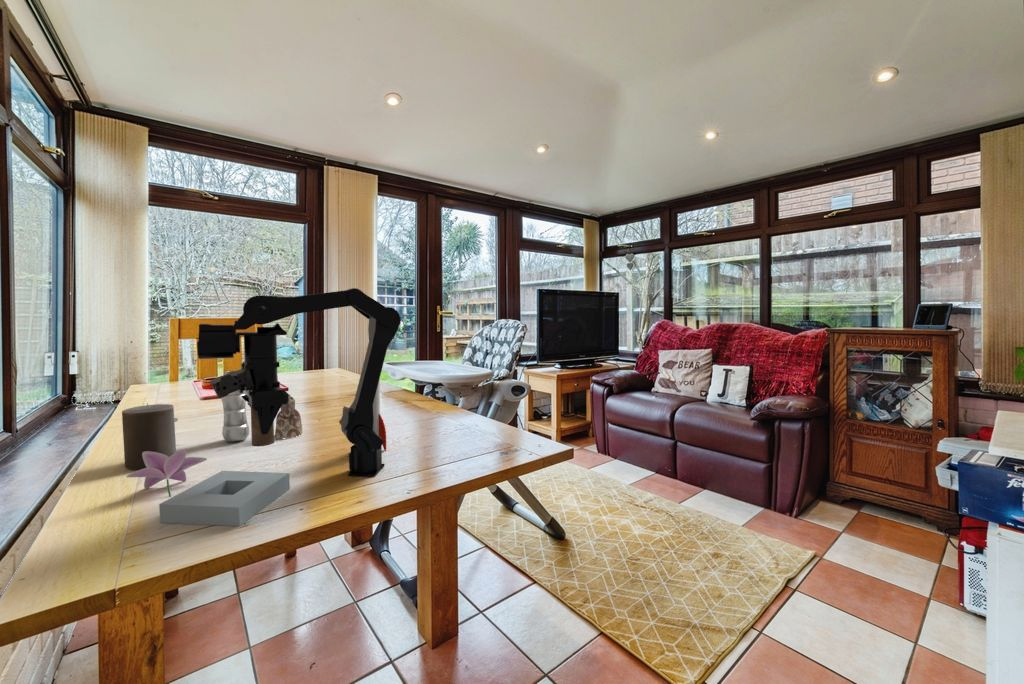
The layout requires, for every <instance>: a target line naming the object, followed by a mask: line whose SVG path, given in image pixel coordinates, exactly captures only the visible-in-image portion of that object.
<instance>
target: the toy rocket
mask: <svg viewBox="0 0 1024 684" xmlns="http://www.w3.org/2000/svg"><path fill="white" fill-rule="evenodd" d="M368 345H369V342H368V344H367V348H368ZM367 348H366V349H367ZM380 379H381V378H380ZM380 379H379V383H378V387H377V391H376V395H375V399H374V403H373V416H374V423H373V430H374V431H375V432H376V433H377V435H378V436H379V437H380V438H381V439H382V440H383V443H382V447H383V451H385V450H386V451H387V429H386V425H385V422H384V419H383V417H382V415H381V409H380V408H381V407H380V406H381V405H380V404H381V403H380V402H381V400H380V399H381V384H380V383H381V382H380V381H381V380H380Z"/></svg>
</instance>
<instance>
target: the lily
mask: <svg viewBox="0 0 1024 684" xmlns="http://www.w3.org/2000/svg"><path fill="white" fill-rule="evenodd" d="M187 453H188V449H187V448H183V449H181V450H179V451H176V453H175V454H173V455H171V456H170V457H168V456H167V455H165V454H161V453H157V452H150V451H145V452H143V453H142V457H143V460H144V463H145V465H146V467H147V468H144V469H137V470H136V471H134V472H131V473H129V474H128V475H126V477H125V478H144V482H143V488H144V489H149V488H151V487H153V486H155V485H156V484H158V483H160V482H162V481H163V480H166V487H167V492H168V497H169V498H171V497H172V494H171V489H170V480H174V481H178V482H179V481H180V482H186V481H187V474H186V471H185V470H188V469H189V468H192V467H194V466H196V465H199V464H200V463H203V462H205V461H207V460H208V459H207V458H206V457H200V456H188V457H187Z"/></svg>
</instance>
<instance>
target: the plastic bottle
mask: <svg viewBox="0 0 1024 684" xmlns="http://www.w3.org/2000/svg"><path fill="white" fill-rule="evenodd" d="M234 371H235V370H229V371H225V372H224V375H226V374H228V373H231V372H234ZM242 395H246V390H245V391H243V393H239V392H238V390H237V391H235V392H232V393H230V394H228V395H227V396H225V397H222V398H220V399H221V403H222V409H223V426H222V432H221V434H222V438H223V440H224V441H225V442H231V443H233V442H239V441H244V440H246V439H247V438H248V437H249V435H250V426H249V424H248V419H247V414H246V413H247V411H246V404H247V401H245V400H244V399H243V398H242V397H241V396H242Z"/></svg>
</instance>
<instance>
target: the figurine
mask: <svg viewBox="0 0 1024 684" xmlns="http://www.w3.org/2000/svg"><path fill="white" fill-rule="evenodd" d="M288 394H289V393H288ZM301 434H302V435H303V424H302V418H301V414H300V412H299V410H297V409H296V399H295V398H294V397H292V395H291V394H289V403H287V404H282V406H281V408H280V410H279V412H278V413H277V415H276V418H275V429H274V437H275V438H277V437H278V438H277V439H280V438H290V439H292V438H291V437H294V438H297V437H296V436H298V437H300V436H302V435H301ZM299 435H300V436H299Z"/></svg>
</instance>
